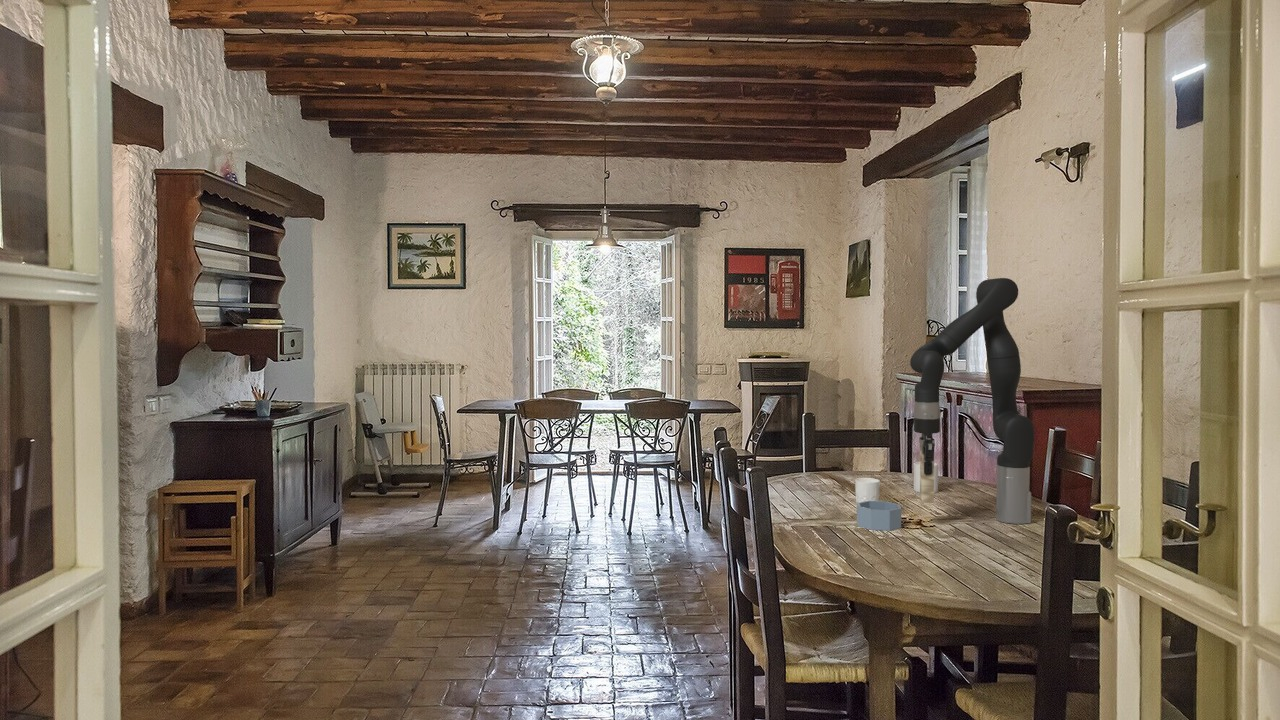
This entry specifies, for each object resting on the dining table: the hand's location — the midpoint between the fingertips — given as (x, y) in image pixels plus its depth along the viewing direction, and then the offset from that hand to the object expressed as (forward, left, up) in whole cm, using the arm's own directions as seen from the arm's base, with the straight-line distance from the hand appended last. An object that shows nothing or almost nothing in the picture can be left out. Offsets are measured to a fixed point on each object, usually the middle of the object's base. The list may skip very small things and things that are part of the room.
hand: (926, 472), depth 241 cm
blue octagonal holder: (+14, +2, -16) cm, 22 cm away
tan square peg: (0, 0, -9) cm, 9 cm away
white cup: (+16, -17, -16) cm, 29 cm away
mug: (-7, -52, -16) cm, 55 cm away
